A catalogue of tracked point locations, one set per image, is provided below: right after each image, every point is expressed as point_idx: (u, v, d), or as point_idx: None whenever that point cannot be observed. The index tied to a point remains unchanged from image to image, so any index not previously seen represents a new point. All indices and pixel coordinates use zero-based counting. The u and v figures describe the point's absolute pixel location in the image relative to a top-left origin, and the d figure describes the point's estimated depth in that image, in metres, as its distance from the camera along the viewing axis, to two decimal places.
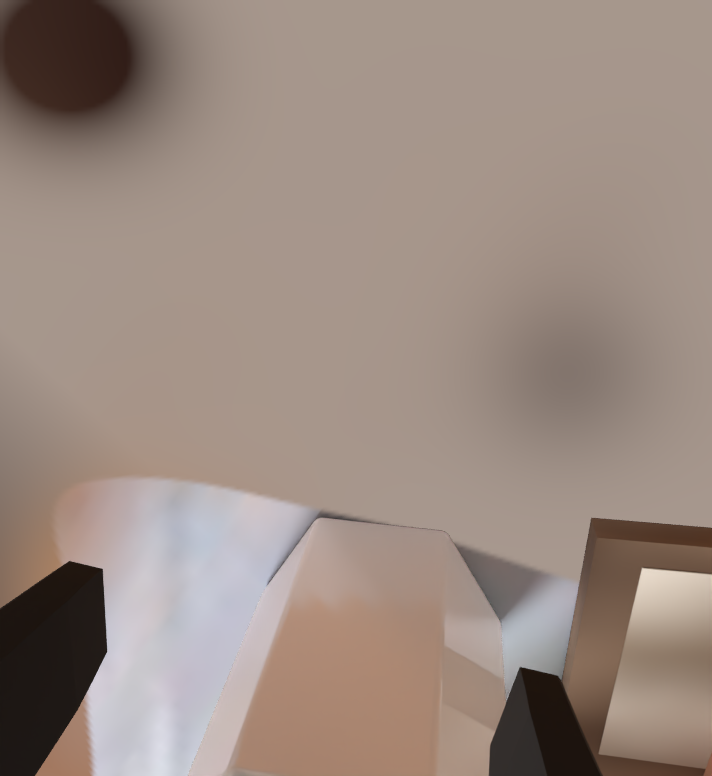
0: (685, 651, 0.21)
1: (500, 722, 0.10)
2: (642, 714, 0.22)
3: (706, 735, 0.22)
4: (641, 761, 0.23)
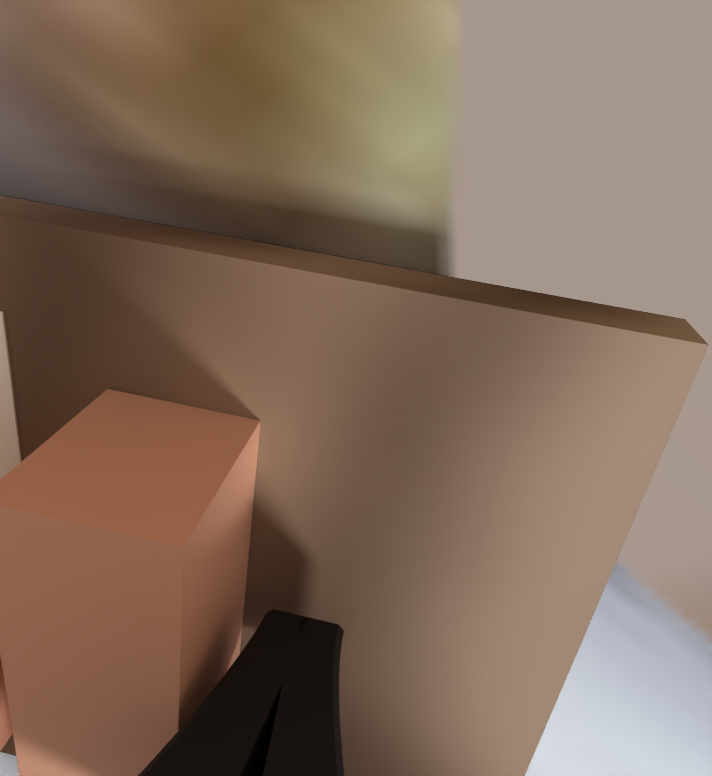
0: None
1: None
2: None
3: None
4: None
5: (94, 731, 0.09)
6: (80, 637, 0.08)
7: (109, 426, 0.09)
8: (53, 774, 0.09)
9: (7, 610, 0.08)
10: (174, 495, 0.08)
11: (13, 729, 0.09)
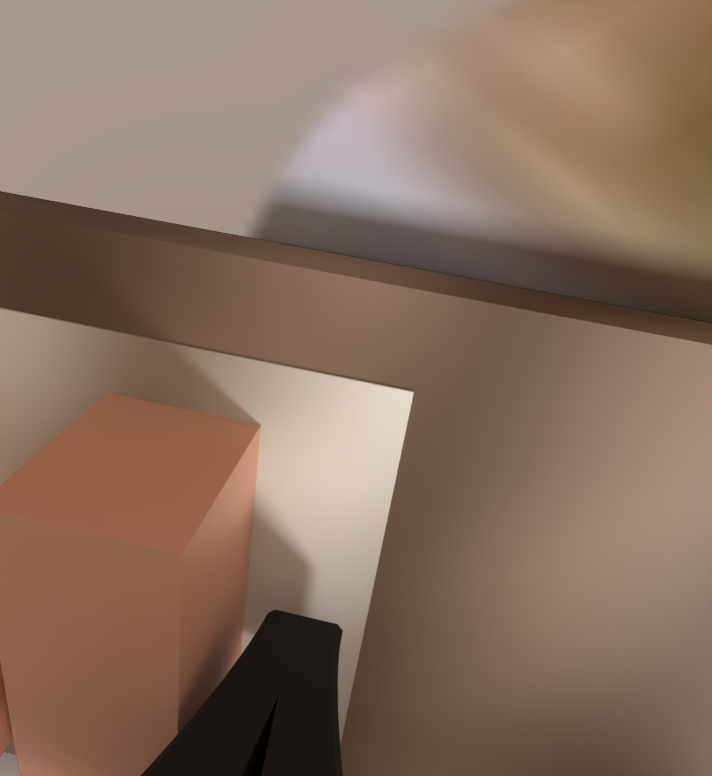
0: None
1: None
2: None
3: None
4: (344, 753, 0.13)
5: (94, 736, 0.09)
6: (79, 644, 0.08)
7: (109, 431, 0.09)
8: None
9: (6, 616, 0.08)
10: (174, 502, 0.08)
11: (13, 733, 0.09)
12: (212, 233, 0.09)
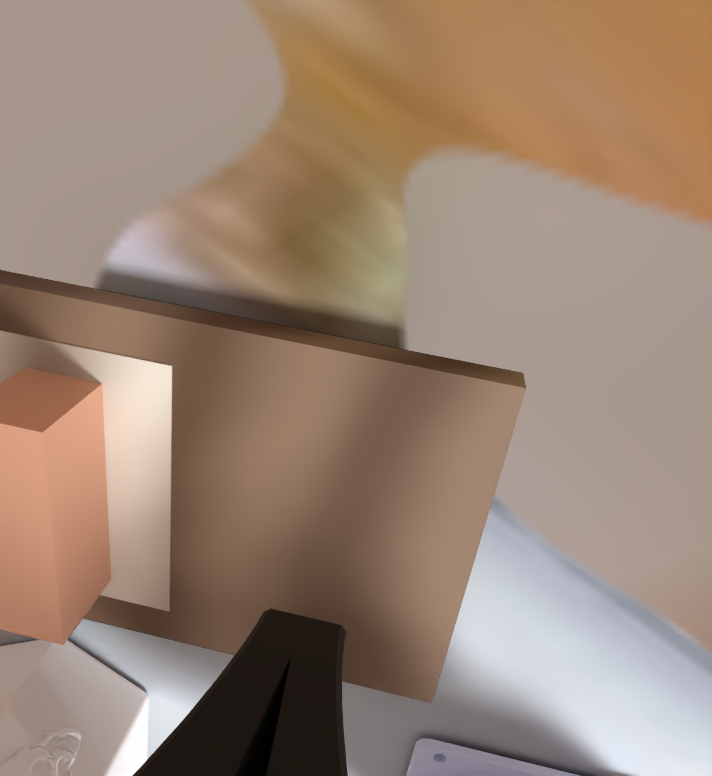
0: None
1: None
2: None
3: (120, 528, 0.21)
4: (173, 579, 0.22)
5: (13, 532, 0.18)
6: (3, 480, 0.17)
7: (22, 384, 0.18)
8: None
9: None
10: (45, 414, 0.17)
11: None
12: (75, 286, 0.19)
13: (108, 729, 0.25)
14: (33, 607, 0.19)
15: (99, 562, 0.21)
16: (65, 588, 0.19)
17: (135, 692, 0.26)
